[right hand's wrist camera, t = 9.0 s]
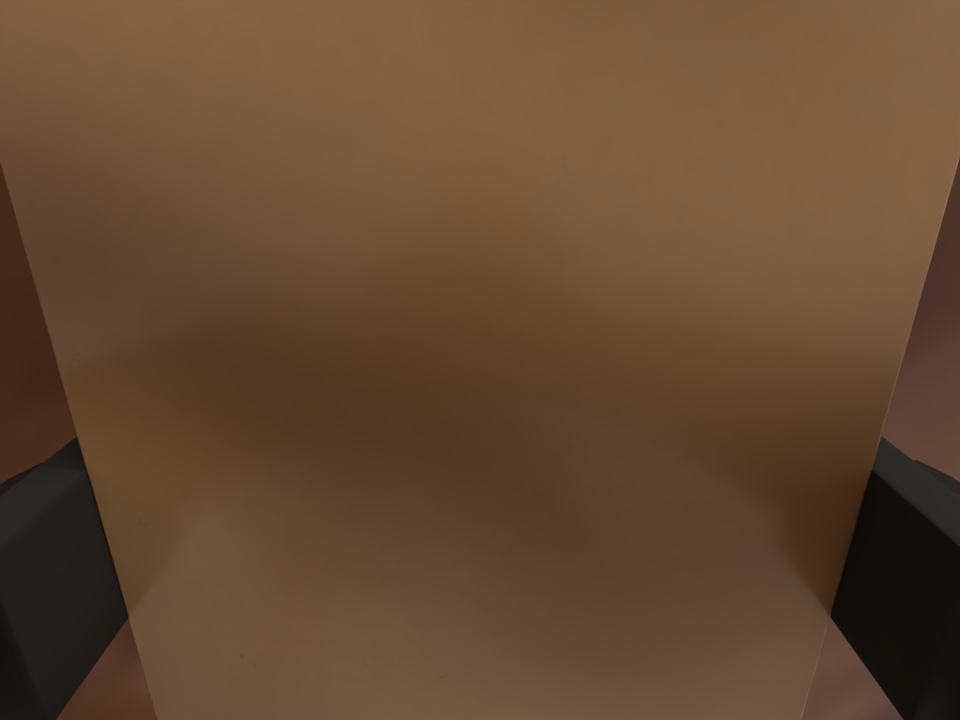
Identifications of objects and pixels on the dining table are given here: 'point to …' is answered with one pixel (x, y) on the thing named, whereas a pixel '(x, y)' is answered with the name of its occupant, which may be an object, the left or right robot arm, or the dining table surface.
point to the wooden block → (479, 334)
